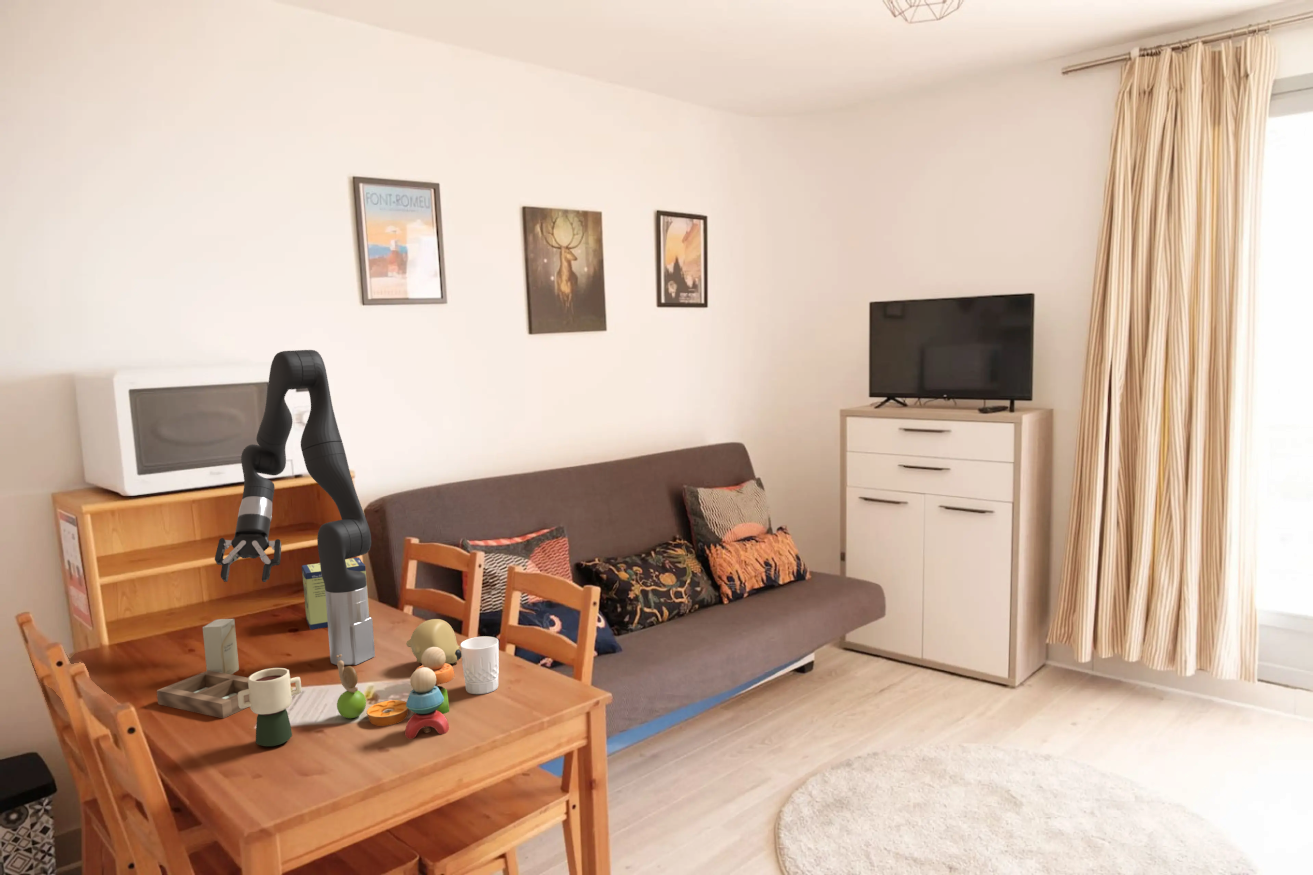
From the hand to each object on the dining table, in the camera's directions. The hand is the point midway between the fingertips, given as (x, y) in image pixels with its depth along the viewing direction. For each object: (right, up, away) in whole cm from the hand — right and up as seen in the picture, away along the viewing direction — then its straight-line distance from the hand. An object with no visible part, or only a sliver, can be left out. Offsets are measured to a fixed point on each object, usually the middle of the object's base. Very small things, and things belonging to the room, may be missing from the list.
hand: (244, 580), depth 204 cm
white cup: (+62, -19, -23) cm, 68 cm away
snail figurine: (+38, -21, -35) cm, 56 cm away
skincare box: (0, -20, -9) cm, 22 cm away
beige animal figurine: (+48, -18, -8) cm, 52 cm away
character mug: (+28, -22, -46) cm, 58 cm away
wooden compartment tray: (+6, -21, -24) cm, 33 cm away
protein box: (+11, -16, +29) cm, 35 cm away
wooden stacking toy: (+52, -21, -38) cm, 68 cm away
